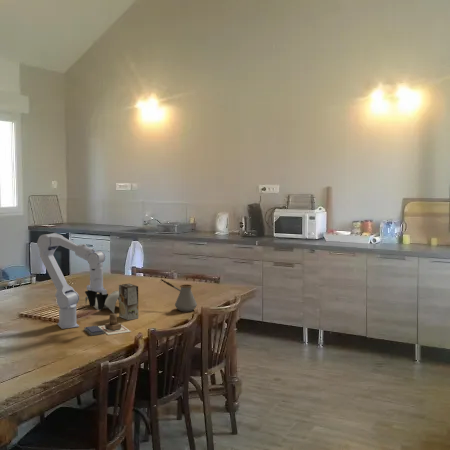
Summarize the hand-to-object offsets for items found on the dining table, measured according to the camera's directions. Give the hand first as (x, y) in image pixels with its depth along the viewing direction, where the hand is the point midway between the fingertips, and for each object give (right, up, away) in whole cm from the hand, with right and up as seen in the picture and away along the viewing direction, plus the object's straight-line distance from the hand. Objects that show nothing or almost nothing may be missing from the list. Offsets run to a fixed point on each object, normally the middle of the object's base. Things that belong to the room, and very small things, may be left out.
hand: (96, 307), depth 251 cm
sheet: (+8, -10, +1) cm, 13 cm away
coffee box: (+11, -8, +22) cm, 26 cm away
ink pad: (0, -10, -4) cm, 11 cm away
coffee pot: (+33, -7, +41) cm, 53 cm away
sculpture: (-3, -7, +41) cm, 42 cm away
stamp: (+7, -10, 0) cm, 12 cm away
